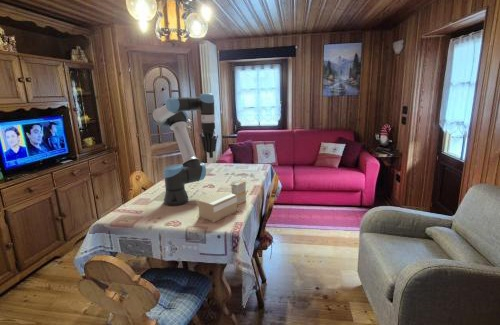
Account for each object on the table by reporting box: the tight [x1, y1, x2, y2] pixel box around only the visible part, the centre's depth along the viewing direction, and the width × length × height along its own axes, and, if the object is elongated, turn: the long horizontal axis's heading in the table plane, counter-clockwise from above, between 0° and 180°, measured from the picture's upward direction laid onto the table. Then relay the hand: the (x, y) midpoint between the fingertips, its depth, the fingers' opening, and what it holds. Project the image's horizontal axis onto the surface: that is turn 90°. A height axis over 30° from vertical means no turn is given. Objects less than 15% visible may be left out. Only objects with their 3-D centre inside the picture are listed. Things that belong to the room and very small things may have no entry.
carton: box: [197, 197, 238, 223], centre depth 158 cm, size 12×18×9 cm
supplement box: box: [230, 180, 247, 206], centre depth 174 cm, size 8×5×13 cm, turn 141°
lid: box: [197, 191, 236, 206], centre depth 157 cm, size 12×18×1 cm, turn 141°
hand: (210, 163), depth 163 cm, fingers closed
